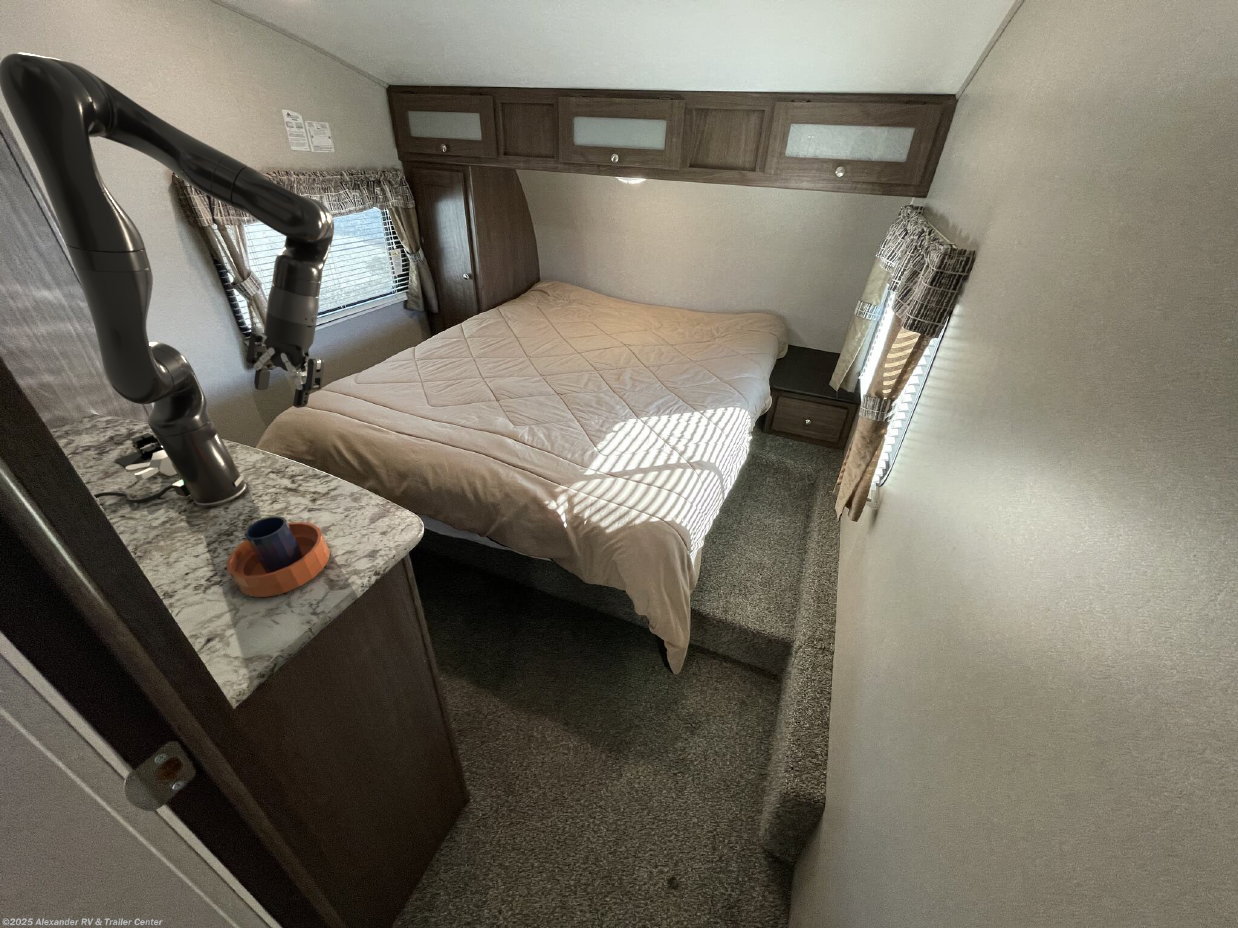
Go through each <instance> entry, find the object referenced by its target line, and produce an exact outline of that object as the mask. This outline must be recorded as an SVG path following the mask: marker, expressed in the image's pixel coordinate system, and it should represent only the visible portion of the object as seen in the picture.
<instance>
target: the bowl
mask: <svg viewBox="0 0 1238 928" xmlns="http://www.w3.org/2000/svg"><path fill="white" fill-rule="evenodd" d="M287 523H288V525H289V527H290V529H291V531H292V533H293V535H294V537H295V539H296V541H297V543H298V545H299V547H300V549H301V551H302V553H303V555H304V557H303V558H302V559H300V560H298V561H297V562H295V563H293V564H292V565H290V566H288V567H285V568H283V569H280V570H278V571H275V572H272V573H267V574H266V573H265V571H264V569H263V568H262V566H261V564H260V562H259V560H258V559H257V557H256V555H255V553H254V552H253V550H252V548H251V546H250V544H249V543H248V541H247V539H246V538H245V540H243V541H242V542H241V543H239V544H238V545H237V546H236V547H235V548H234V549H233V550H232V552H231V553H230V554H229V556H228V558H227V560H226V571H227V572H228V574H229V575H230V577H231V579H232V580H233V582H234V583H235V586H236V587H237V588H238V590H239V591H241V593H242V594H244V595H246V596H250V597H254V598H266V597H274V596H276V595H281V594H284V593H287V592H290V591H292V590H294V589H297V588H299V587H301V586H303V585H304V584H306V583H307V582H310V581H311V580H313V579H314V578H315V577H316V576H317V575H318V574H319V573H321V572H322V571H323V569H324V568H325V567H326V565H327V564H328V562H329V560H330V555H331V550H330V548H329V546H328V544H327V542H326V539H325V538H324V535H323V533H322V530H321V528H320V527H318V525H315V524H314V523H312V522H311V523H310V522H306V521H291V522H287Z"/></svg>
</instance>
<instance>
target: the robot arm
mask: <svg viewBox="0 0 1238 928" xmlns="http://www.w3.org/2000/svg"><path fill="white" fill-rule="evenodd" d="M0 91H1V94H2V96H3V99H4V101H5V103H6V106H7V108H8V110H9V113H10V114H11V116H12V118H13V120H14V122H15V124H16V127H17V129H18V131H19V133H20V135H21V137H22V139H23V141H24V143H25V145H26V147H27V149H28V151H29V153H30V155H31V157H32V159H33V161H34V162H33V163H35V166H36V168H37V171H38V172H39V175H40V178H41V180H42V183H43V186H44V188H45V190H46V193H47V196H48V199H49V202H50V204H51V206H52V209H53V212H54V213H55V216H56V219H57V222H58V224H59V228H60V230H61V234H62V238H63V240H64V243H65V246H66V250H67V252H68V255H69V257H70V260H71V263H72V266H73V268H74V270H75V272H76V275H77V277H78V280H79V282H80V286H81V288H82V292H83V295H84V297H85V301H86V304H87V307H88V309H89V310H88V311H89V313H90V316H91V319H92V321H93V322H92V323H93V326H94V330H95V334H96V338H97V343H98V347H99V348H98V349H99V353H100V356H101V357H100V358H101V363H102V366H103V370H104V373H105V377H106V379H107V381H108V382H109V384H110V385H111V387H112V388H113V389H114V391H115V392H116V393H117V394H118V395H119V396H121V397H122V398H123V399H124V400H127V401H129V402H131V403H134V404H138V405H149V404H150V405H151V404H153V407H152V410H151V413H150V414H149V416H148V418H147V424H148V426H149V428H150V430H151V431H152V433H153V436H154V437H156V438H157V440H158V441H159V443H160V445H161V446H162V448H163V449H164V451H165V453H166V454H167V456H168V458H169V459H170V461H171V464H172V466H173V467H174V469H175V471H176V472H177V474H176V475H177V476H178V478H179V480H177V481H176V482H174V483H173V484H170V485H168V486H165V487H164V488H162V489H160V491H159V492H157V493H155V494H152V495H150V496H147V497H142V498H133V496H132V495H131V494H130V493H128V492H121V491H105V492H104V491H102V492H98V493H95V494H93V495H94V496H95V497H96V498H97V499H99V498H101V497H108V496H109V497H111V496H112V497H122V498H123V497H124V498H126V500H127V502H128V503H131V504H139V503H145V502H149V501H153V500H156V499H157V498H160V497H162V496H163V495H165V494H166V493H167V492H169V491H171V490H172V489H173V490H174V491H175V493H176V495H177V496H179V497H184V498H187V497H189V496H190V497H191V499H192V500H193V502H194V504H195V505H196V506H197V507H200V508H213V507H214V508H215V507H217V506H221V505H225V504H228V503H230V502H232V501H234V500H236V499H238V498H240V497H241V496H242V495H243V494H244V493H245V492H246V491H247V489H248V485H247V484H246V482H245V480H244V479H245V477H244V474H243V473H240V470H239V469H238V468H237V465H236V464H235V462H234V459H233V457H232V456H231V454H230V452H229V450H228V448H227V447H226V445H225V443H224V441H223V439H222V437H221V435H220V434H219V432H218V430H217V429H218V428H216V426H215V424H214V422H213V420H212V418H211V416H210V414H209V411H208V401H207V397H206V395H205V393H204V390H203V389H202V386H201V384H200V381H199V379H198V377H197V375H196V372H195V370H194V369H193V367H192V365H191V364H190V362H189V361H188V359H187V358H186V357H185V355H183V353H181V352H180V351H179V350H178V349H177V348H175V347H174V346H171V345H169V344H167V343H164V342H157V341H152V342H150V341H149V337H148V329H147V321H148V314H149V309H150V305H151V304H150V303H151V299H152V294H153V285H154V284H153V283H154V275H153V270H152V266H151V262H150V258H149V256H148V252H147V248H146V245H145V241H144V239H143V237H142V234H141V232H140V231H139V229H138V227H137V226H136V224H135V223H134V222H133V220H132V218H130V216H129V215H128V213H127V212H126V211H125V209H123V207H122V206H121V205H120V203H119V202H118V201H117V200H116V199H115V197H114V196H113V194H112V193H111V192H110V190H109V189H108V187H107V186H106V184H105V182H104V180H103V178H102V176H101V173H100V171H99V168H98V165H97V162H96V159H95V155H94V151H93V149H92V144H91V140H90V138H98V137H99V138H103V139H105V140H109V141H112V142H115V143H117V144H120V145H123V146H126V147H128V148H131V149H133V150H136V151H137V152H140V153H142V154H144V155H145V156H147V157H150V158H151V159H154V160H156V162H159V163H160V164H161V165H163V166H164V167H166V168H167V169H168V170H170V171H171V172H172V173H174V174H175V175H176V176H178V178H180V179H181V180H183V181H184V182H185V183H187V184H189V185H190V186H192V188H194V189H196V190H198V191H200V192H201V193H203V194H205V195H207V196H209V197H211V198H213V199H215V200H217V201H219V202H220V203H223V204H225V205H227V206H229V207H231V208H233V209H235V210H238V211H239V212H242V213H244V214H247V215H249V216H251V217H253V218H254V219H256V220H257V221H259V222H260V223H262V224H264V225H265V226H266V227H268V228H270V229H272V231H273V230H274V231H275V232H277V233H279V234H281V235H282V236H284V237H285V241H284V245H283V248H282V250H281V251H280V252H278V254H276V257H275V259H274V264H273V272H272V281H271V287H270V290H269V293H268V297H267V305H266V313H265V320H264V328H263V332H251V333H250V334H249V341H248V345H247V350H246V351H247V352H246V356H245V357H246V358H245V361H246V363H248V364H251V365H252V366H253V369H254V370H255V373H254V381H253V383H254V389H256V390H257V391H266V390H268V389H269V386H270V377H271V369H272V368H273V367H277V368H280V369H282V370H283V371H286V372H288V375H289V377H290V378H291V379H293V382H294V383H295V386H296V388H295V391H294V396H293V402H292V406H293V407H294V408H296V409H300V408H304V407H306V406H307V405H308V403H309V397H310V392H311V391H315V390H321V389H322V388H323V387H322V386H323V385H322V384H323V378H324V377H323V375H324V367H325V360H324V359H323V358H322V357H313V356H311V354H310V348H311V347H312V345H313V344H314V341H315V334H316V328H317V322H318V316H319V309H320V307H319V306H320V303H319V302H320V301H319V300H320V294H321V293H320V292H321V286H322V279H323V271H324V267H325V264H326V262H327V259H328V256H329V253H330V249H331V246H332V243H333V239H334V234H335V222H334V218H333V214H332V213H331V211H330V210H329V208H328V207H327V206H326V205H324V204H323V203H322V202H320V201H319V200H317V199H314V198H311V197H307V196H303V195H301V194H298V193H296V192H295V191H292V190H290V189H288V188H285V187H284V186H281V185H280V184H277V183H276V182H274V181H271V180H270V179H268V177H267V176H266V175H264V174H263V173H261V172H260V171H258V170H257V169H254V168H253V167H251V166H249V165H247V164H245V163H244V162H241V161H239V160H237V159H236V158H234V157H232V156H230V155H228V154H226V153H224V152H223V151H221V150H218V149H217V148H214V147H213V146H211V145H210V144H209V145H208V144H207V143H205V142H203V141H201V140H199V139H197V138H195V137H193V136H192V135H190V134H188V133H186V132H184V131H183V130H181V129H179V128H177V127H175V125H172V124H171V123H169V122H167V121H166V120H164V119H162V118H161V117H159V116H158V115H156V114H154V113H152V112H151V111H149V110H148V109H146V108H145V107H143V106H142V105H140V104H139V103H137V102H135V100H133V99H131V98H130V97H128V96H127V95H125V94H124V93H123V92H121V91H120V90H118V89H117V88H115V87H114V86H112V85H111V84H109V83H108V82H107V81H105V80H103V79H102V78H100V77H99V76H98V75H96V74H94V73H93V72H91V71H90V70H88V69H86V68H85V67H83V66H81V65H79V64H77V63H74V62H72V61H67V60H64V59H59V58H55V57H49V56H44V55H38V54H32V53H25V52H15V53H14V52H13V53H10V54H7V55H6V56H4V57H3V58H2V60H1V61H0ZM299 370H300V371H299Z"/></svg>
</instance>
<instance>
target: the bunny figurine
mask: <svg viewBox="0 0 1238 928" xmlns="http://www.w3.org/2000/svg"><path fill="white" fill-rule="evenodd" d="M140 470H141V471H140ZM137 471H139V472H137ZM125 472H126V473H132V472H136V473H134V477H135V479H136V480H137V481H143V480H146V479H148V478H150V477H152V476H153V475H155V474H159V475H164V476H168V477H172V476H174V475H178V474H177V472H176V471H175V469H174V467H173V466H172V464H171V461H170V459H169V458H168V456H167V454H166V453H165V451H164V450H161V451H158V452H156V453H153V456H152V459H150V461H149V462H142V463H139V464H134V465H128V466H127V467H125Z"/></svg>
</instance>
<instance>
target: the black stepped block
mask: <svg viewBox="0 0 1238 928" xmlns="http://www.w3.org/2000/svg"><path fill="white" fill-rule="evenodd" d="M130 441H131V447H132V448H134V450H135V451H134V452H131V453H129V454H126V455H123V456H121V457H118V458H115V459H114V462H117V463H118V464H120V465H122V466H124V467H125V468H126V467H127V466H128V465H134V464H141V463H145V462H147V461H149V460H150V461H151V459H152V456H153V453H156V452H158V451H161V450H164V449H163V448H162V446H161V445H160V443H159V441H158V440H157V438H156V436H155V435H154V434H151V433H150V432H146V433H143V434H141V435H137V436H135V437H132V438H130Z"/></svg>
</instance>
